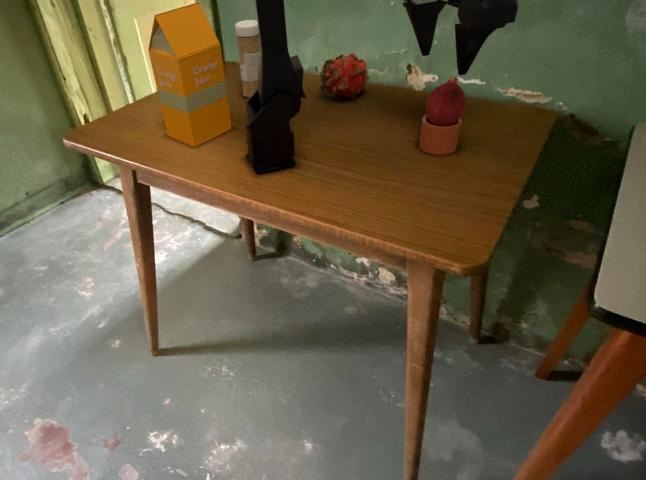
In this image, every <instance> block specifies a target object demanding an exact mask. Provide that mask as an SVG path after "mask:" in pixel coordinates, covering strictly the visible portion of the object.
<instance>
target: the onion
mask: <svg viewBox="0 0 646 480" xmlns="http://www.w3.org/2000/svg"><path fill="white" fill-rule="evenodd" d="M458 80H459V78H458V77H457V76H456V75H453V76H450V78H449V79H448V80H447V81H446V82H444V83H442V84H440V85H438V86H437V87H435V88H434V89H433V90H432V91H431V92H430V93H429V95H428V97H427V99H426V102H425V115H427V117H428V119H429V120H430V122H431V123H432V124H433V125H435V126H441V127H446V126H449V125H452V124H453V123H455V122H456V121H457V120H459V119H460V118H461V119H462V117H463V115H464V113H465V111H466V107H467V97H466V95H465V92H464V90H463V88H462V87H461V85H459V84H458Z"/></svg>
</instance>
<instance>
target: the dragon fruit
mask: <svg viewBox="0 0 646 480" xmlns="http://www.w3.org/2000/svg"><path fill="white" fill-rule="evenodd" d="M367 68H368V65H367V62H366V61H365V60H364V59H363V58H359V57H358V56H357V55H356V54H355V53H349V54H348V55H347V56H346V55H344V54H340V55H338V56H335V58H329V59H327V60H325V61H324V64H323V65H322V70H321V71H320V73H319V79H320V81H321V86H319V89H320V90H321V91H323V92H326V96H327V97H330V98H334V100H336V101H338V100H340V99H341V98H342V97H345V98H346V99H351V100H354V99H355V98H356V95H360V93H361V91H362V90H363V88H364V87H365V86H366V83H367V81H368V80H369V79H370V77H369V76H368V71H367Z"/></svg>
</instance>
